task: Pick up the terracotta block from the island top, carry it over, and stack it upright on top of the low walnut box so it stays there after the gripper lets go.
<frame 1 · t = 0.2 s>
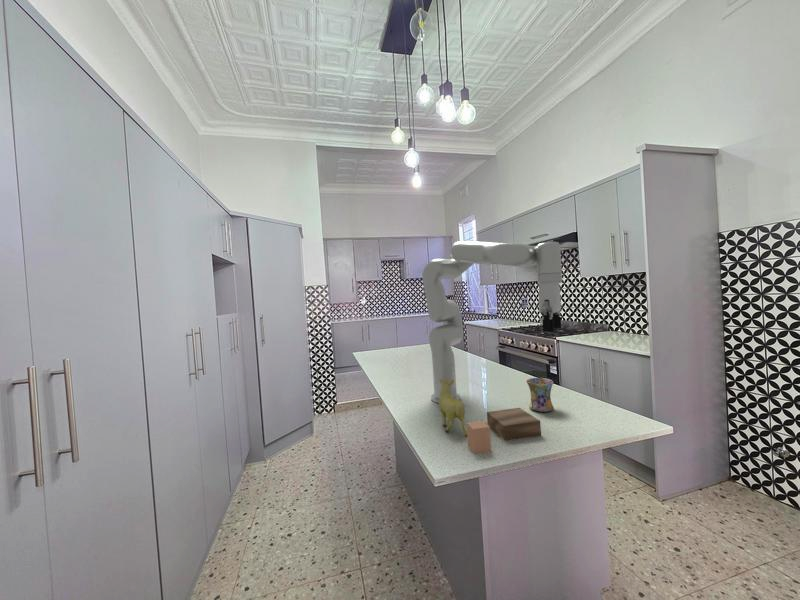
hand: (552, 329, 110), 31 cm above the countertop, tool pointing down, fingers open, 9 cm apart
mug: (539, 408, 123), on the countertop
terracotta block: (479, 448, 95), on the countertop
toy: (451, 427, 111), on the countertop
walnut box: (513, 431, 105), on the countertop
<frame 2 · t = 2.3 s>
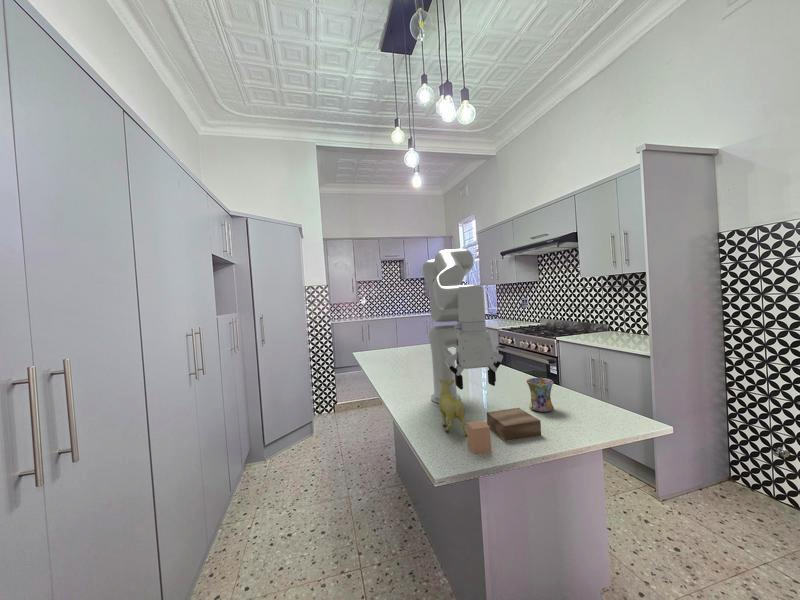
hand: (476, 386, 94), 18 cm above the countertop, tool pointing down, fingers open, 9 cm apart
nothing on the countertop moved.
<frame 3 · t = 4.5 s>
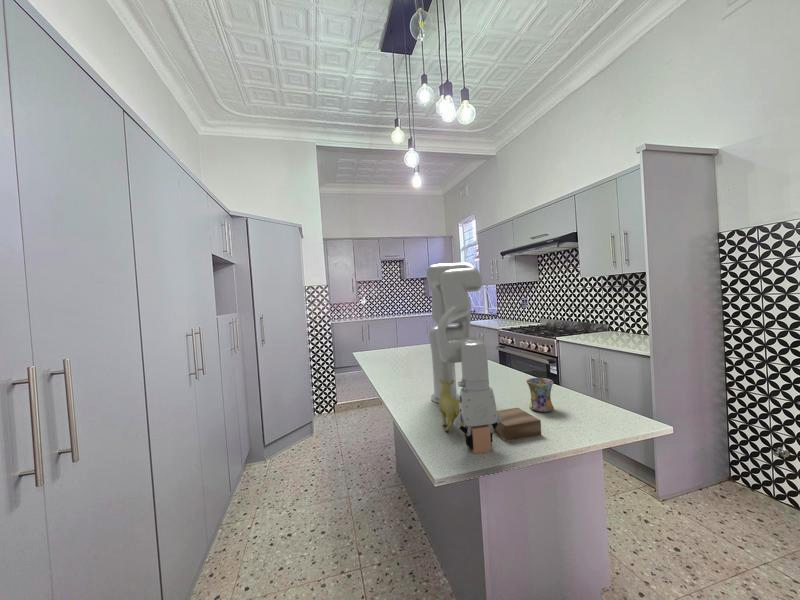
hand: (479, 445, 95), 1 cm above the countertop, tool pointing down, fingers closed on terracotta block, 5 cm apart
terracotta block: (479, 448, 95), on the countertop, touching gripper
everything else where it was.
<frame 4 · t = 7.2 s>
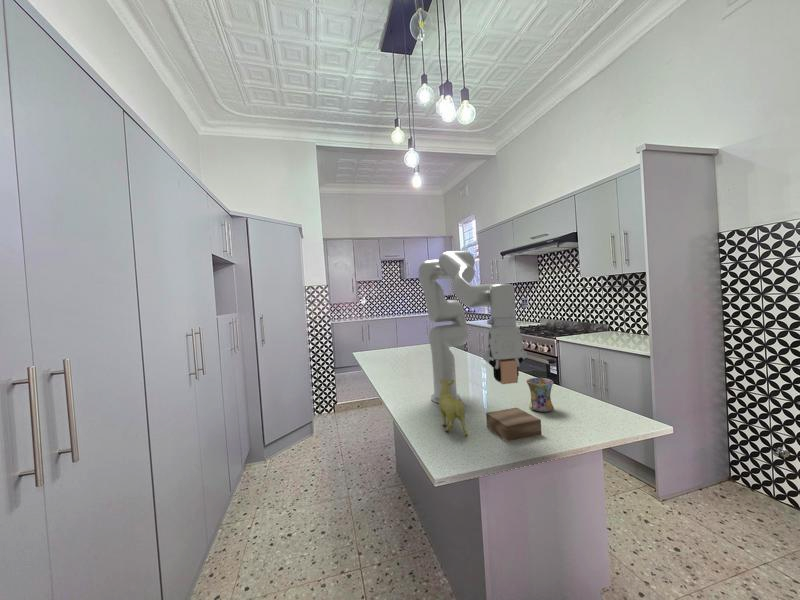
hand: (506, 378, 104), 17 cm above the countertop, tool pointing down, fingers closed on terracotta block, 5 cm apart
terracotta block: (506, 381, 104), point 16 cm above the countertop, touching gripper
everything else where it was.
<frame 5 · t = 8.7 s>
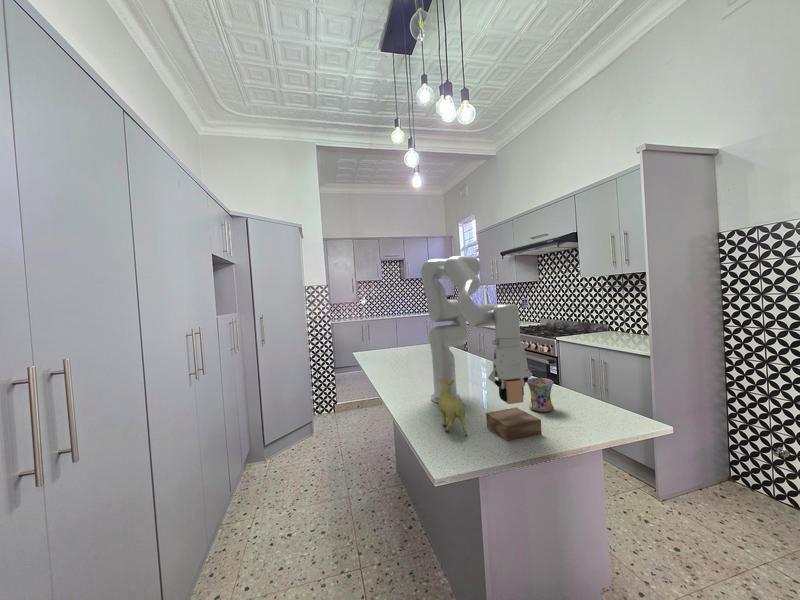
hand: (511, 398, 105), 10 cm above the countertop, tool pointing down, fingers closed on terracotta block, 5 cm apart
terracotta block: (512, 400, 105), point 10 cm above the countertop, touching gripper
everything else where it was.
when the fingers open (7 cm above the countertop, at t = 10.1 s): terracotta block drops 2 cm, resting on walnut box.
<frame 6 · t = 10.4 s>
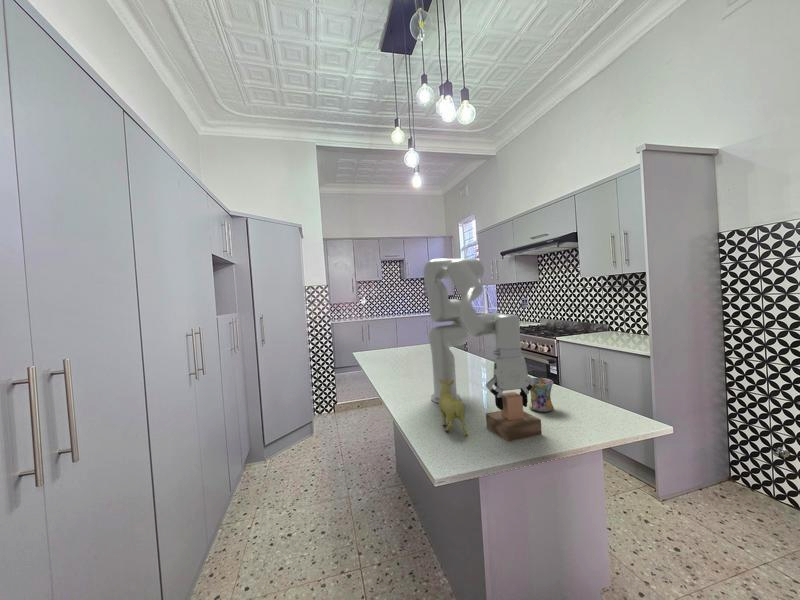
hand: (511, 406, 105), 8 cm above the countertop, tool pointing down, fingers open, 7 cm apart
terracotta block: (512, 416, 105), point 5 cm above the countertop, touching walnut box
walnut box: (513, 431, 105), on the countertop, touching terracotta block
everything else where it was.
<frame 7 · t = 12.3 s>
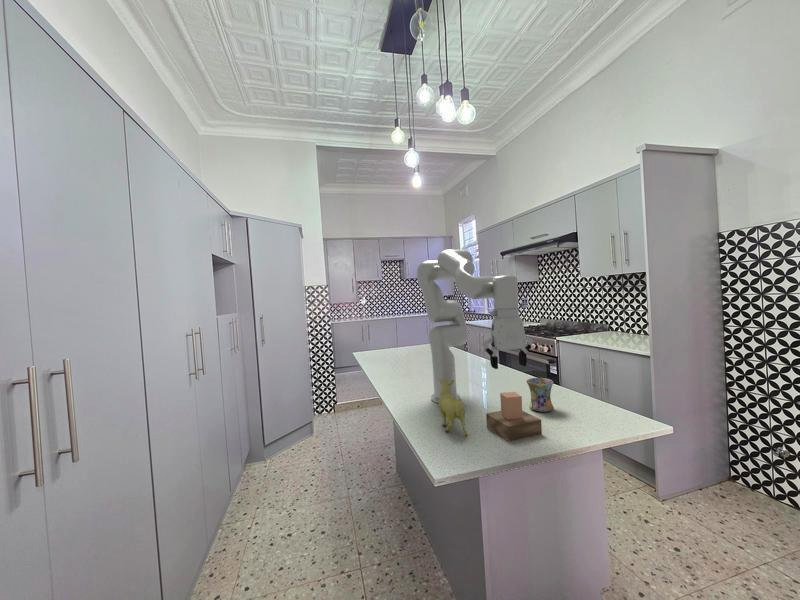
hand: (508, 366, 105), 21 cm above the countertop, tool pointing down, fingers open, 9 cm apart
nothing on the countertop moved.
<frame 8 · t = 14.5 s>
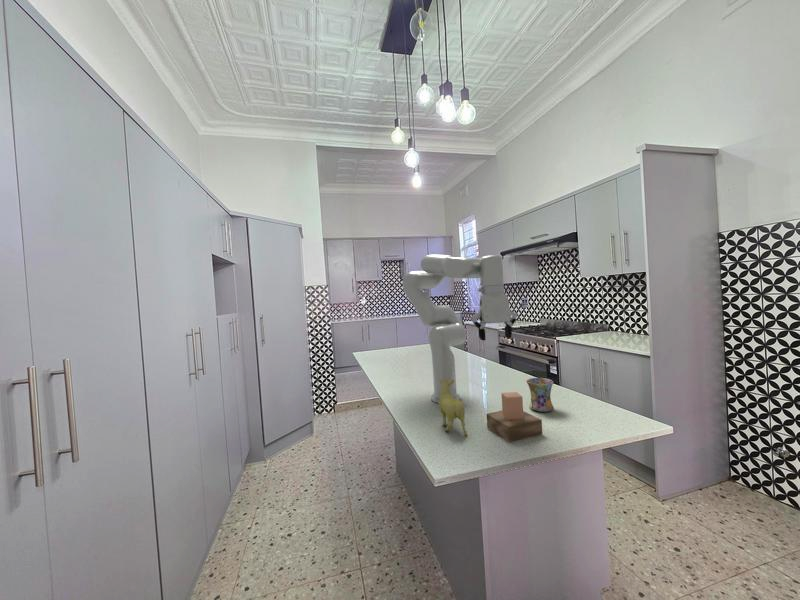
hand: (495, 338, 116), 28 cm above the countertop, tool pointing down, fingers open, 9 cm apart
nothing on the countertop moved.
at the end: terracotta block inside the target area on the walnut box (0.3 cm from its centre), point 5.0 cm above the walnut box's base; terracotta block tilted 1°; the gripper is holding nothing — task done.
